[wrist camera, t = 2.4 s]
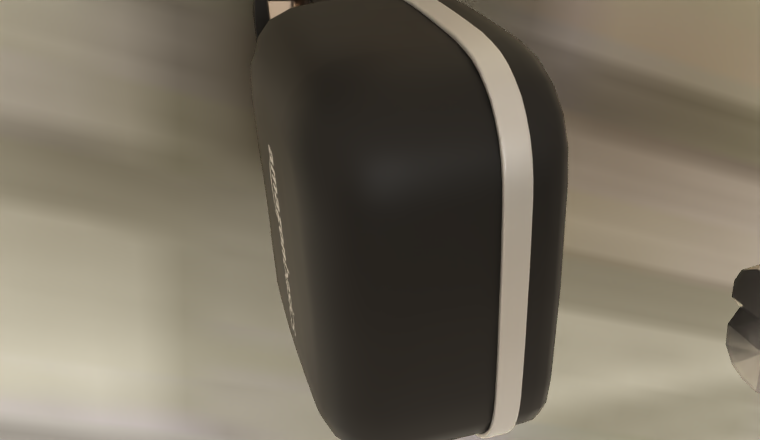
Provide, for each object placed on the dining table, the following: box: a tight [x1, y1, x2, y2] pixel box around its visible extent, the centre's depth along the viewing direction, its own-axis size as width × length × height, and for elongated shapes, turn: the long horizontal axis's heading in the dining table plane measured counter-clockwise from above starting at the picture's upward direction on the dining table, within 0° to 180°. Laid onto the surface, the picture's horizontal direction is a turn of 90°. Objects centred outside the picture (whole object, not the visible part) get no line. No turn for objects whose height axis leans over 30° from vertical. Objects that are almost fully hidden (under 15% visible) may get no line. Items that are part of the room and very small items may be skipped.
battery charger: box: [251, 0, 568, 440], centre depth 15 cm, size 7×4×11 cm, turn 3°
